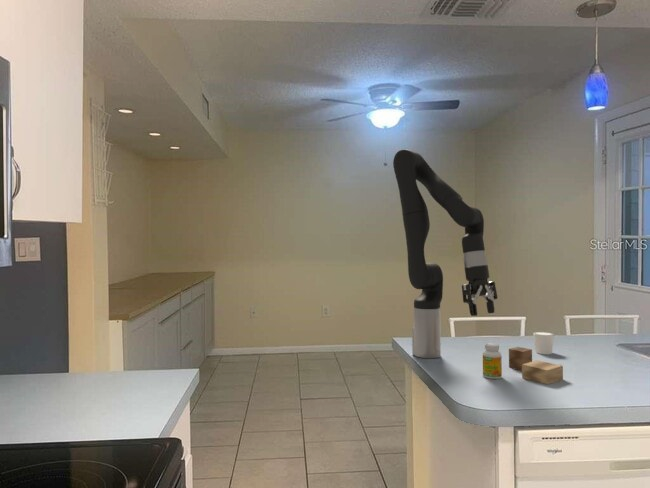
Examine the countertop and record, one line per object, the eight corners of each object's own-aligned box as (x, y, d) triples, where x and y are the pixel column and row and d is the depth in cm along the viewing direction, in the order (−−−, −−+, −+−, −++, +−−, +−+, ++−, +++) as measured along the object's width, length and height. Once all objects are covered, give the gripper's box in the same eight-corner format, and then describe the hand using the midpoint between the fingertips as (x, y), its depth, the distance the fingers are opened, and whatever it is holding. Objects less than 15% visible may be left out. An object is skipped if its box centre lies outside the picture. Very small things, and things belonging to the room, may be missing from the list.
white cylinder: (555, 351, 172) (554, 332, 172) (552, 355, 167) (552, 335, 167) (534, 349, 176) (534, 331, 176) (531, 353, 170) (531, 334, 170)
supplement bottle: (482, 378, 140) (481, 345, 140) (483, 373, 145) (483, 342, 145) (501, 380, 138) (501, 347, 138) (502, 375, 143) (501, 343, 143)
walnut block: (509, 367, 152) (508, 348, 152) (518, 364, 155) (517, 346, 155) (523, 370, 148) (522, 351, 148) (532, 368, 151) (532, 349, 151)
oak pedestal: (522, 377, 140) (521, 364, 140) (537, 373, 144) (537, 360, 144) (547, 384, 133) (547, 370, 133) (562, 379, 138) (562, 365, 138)
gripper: (480, 266, 164) (487, 312, 162) (452, 267, 156) (459, 316, 154) (498, 263, 157) (506, 311, 155) (470, 265, 150) (477, 316, 148)
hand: (482, 314), depth 155 cm, fingers open, 8 cm apart
